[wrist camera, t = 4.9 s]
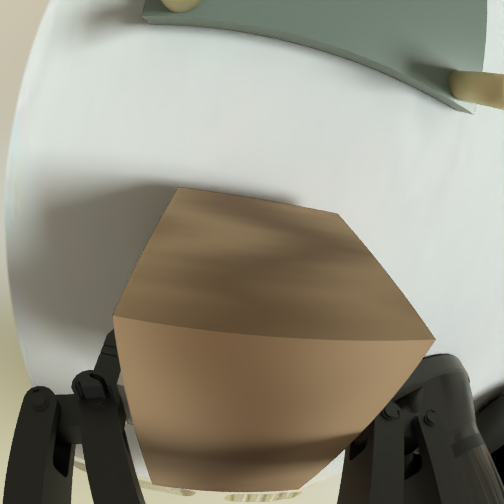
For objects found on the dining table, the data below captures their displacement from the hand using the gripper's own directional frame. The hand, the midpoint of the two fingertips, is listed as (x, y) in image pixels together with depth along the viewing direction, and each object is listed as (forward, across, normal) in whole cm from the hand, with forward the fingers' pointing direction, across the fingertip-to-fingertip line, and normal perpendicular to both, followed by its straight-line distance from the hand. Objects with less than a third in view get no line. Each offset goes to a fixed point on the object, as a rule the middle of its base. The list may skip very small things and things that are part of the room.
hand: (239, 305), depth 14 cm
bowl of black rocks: (+3, -51, +24) cm, 56 cm away
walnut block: (0, 0, 0) cm, 0 cm away
